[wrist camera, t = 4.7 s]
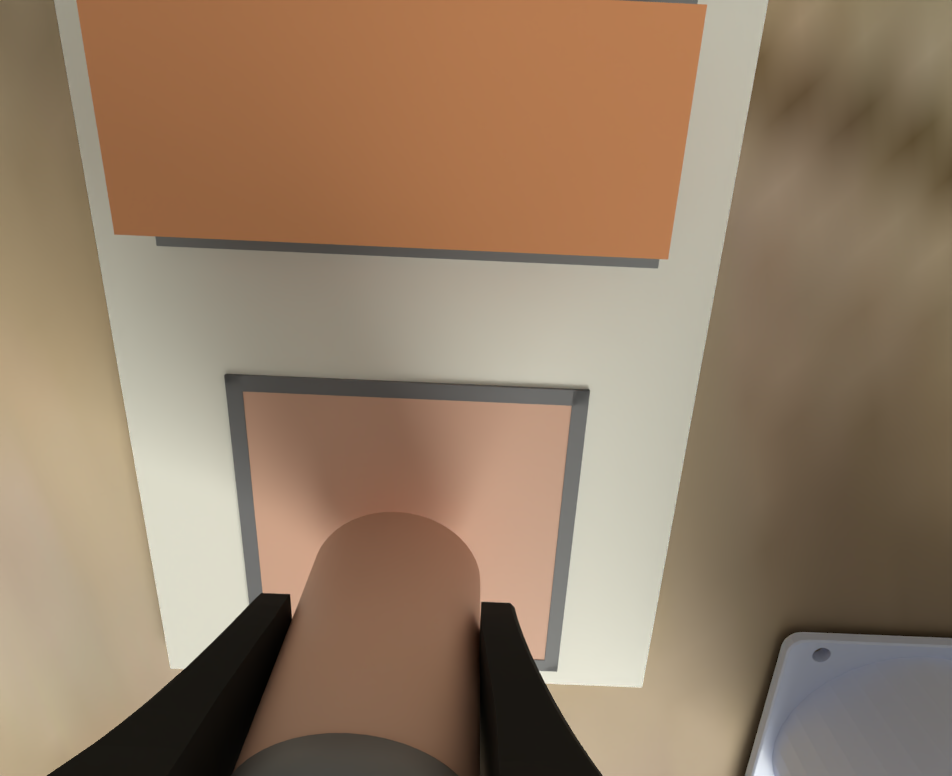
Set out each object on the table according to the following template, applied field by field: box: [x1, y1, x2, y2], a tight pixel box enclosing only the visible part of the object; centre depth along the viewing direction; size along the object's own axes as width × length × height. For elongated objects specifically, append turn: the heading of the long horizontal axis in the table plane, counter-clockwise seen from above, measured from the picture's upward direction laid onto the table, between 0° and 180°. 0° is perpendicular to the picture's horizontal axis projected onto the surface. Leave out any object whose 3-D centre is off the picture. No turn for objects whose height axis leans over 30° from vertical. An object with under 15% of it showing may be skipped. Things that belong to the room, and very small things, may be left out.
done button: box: [76, 0, 707, 259], centre depth 11 cm, size 10×4×2 cm, turn 88°
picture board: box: [54, 0, 768, 687], centre depth 15 cm, size 14×20×1 cm
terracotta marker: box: [231, 512, 480, 776], centre depth 12 cm, size 4×4×7 cm
